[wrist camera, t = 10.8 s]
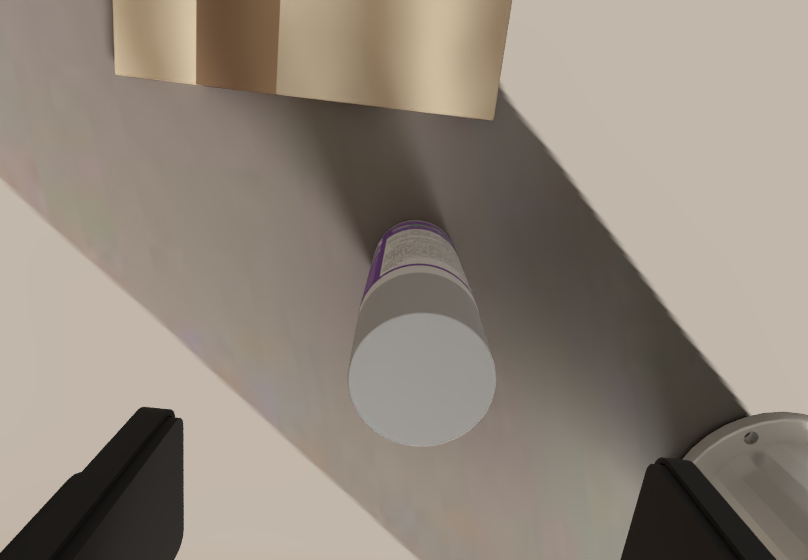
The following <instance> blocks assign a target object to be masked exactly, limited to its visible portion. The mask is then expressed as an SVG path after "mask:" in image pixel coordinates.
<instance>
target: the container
mask: <svg viewBox="0 0 808 560" xmlns="http://www.w3.org/2000/svg"><path fill="white" fill-rule="evenodd" d="M495 387H496V370H495V365H494V361H493V358H492V354H491V351H490V348H489V344H488V341H487V338H486V334H485V331H484V328H483V324H482V321H481V318H480V315H479V311H478V308H477V304H476V302H475V299H474V296H473V294H472V291H471V289H470V286H469V284H468V281H467V278H466V276H465V273H464V271H463V268H462V266H461V263H460V261H459V258H458V255H457V253H456V250H455V248H454V245H453V243H452V241H451V240H450V238H449V237H448V235H447V234H446V233H445V232H444V231H443V230H442V229H441V228H439V227H438V226H436V225H434V224H432V223H430V222H426V221H422V220H409V221H404V222H401V223H398V224H396V225H394V226H393V227H391V228H390V229H389V230H387V231H386V232H385V233H384V235H383V236H382V237H381V239H380V240H379V242H378V244H377V247H376V250H375V253H374V257H373V260H372V264H371V268H370V272H369V275H368V279H367V283H366V287H365V290H364V294H363V298H362V302H361V305H360V309H359V314H358V321H357V326H356V332H355V337H354V342H353V348H352V353H351V359H350V364H349V370H348V389H349V394H350V398H351V400H352V403H353V405H354V407H355V409H356V411H357V413H358V414H359V416H360V417H361V418H362V420H363V421H364V422H365V423H366V424H367V425H368V426H369V427H370V428H371V429H373V430H374V431H375V432H377V433H378V434H379V435H381V436H383V437H385V438H387V439H389V440H391V441H394V442H396V443H400V444H404V445H409V446H434V445H439V444H443V443H446V442H449V441H452V440H454V439H456V438H458V437H460V436H462V435H464V434H465V433H467V432H468V431H469V430H471V429H472V428H473V427H474V426H475V425H476V424H477V423H478V422H479V421H480V420H481V419H482V418H483V416H484V415H485V413H486V412H487V410H488V408H489V406H490V404H491V402H492V399H493V396H494V392H495Z"/></svg>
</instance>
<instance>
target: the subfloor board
mask: <svg viewBox="0 0 808 560" xmlns="http://www.w3.org/2000/svg"><path fill="white" fill-rule="evenodd" d="M511 4H512V0H113V25H114V56H115V75H121V76H127V77H135V78H143V79H151V80H159V81H168V82H176V83H184V84H192V85H201V86H209V87H217V88H225V89H234V90H242V91H250V92H258V93H267V94H275V95H283V96H291V97H300V98H308V99H316V100H324V101H333V102H341V103H349V104H357V105H366V106H374V107H382V108H390V109H399V110H407V111H415V112H423V113H432V114H440V115H448V116H456V117H465V118H473V119H481V120H489V121H491V120H494V113H495V107H496V100H497V94H498V87H499V81H500V75H501V68H502V62H503V55H504V49H505V42H506V36H507V30H508V23H509V17H510V10H511Z"/></svg>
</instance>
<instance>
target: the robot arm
mask: <svg viewBox="0 0 808 560" xmlns="http://www.w3.org/2000/svg"><path fill="white" fill-rule="evenodd" d="M183 504H184V503H183V421H182V419H181V418H175V415H174V412H173V411H172V410H169V409H160V408H149V407H141V408H140V409H138V410H137V411H136V413H135V414H134V415H133V416H132V417H131V418H130V419H129V420H128V422H127V423H126V424H125V425H124V426H123V427H122V428H121V429H120V430H119V431H118V433H117V434H116V435H115V436H114V437H113V438H112V439H111V440H110V442H108V444H107V445H106V446H105V447H104V448H103V449H102V450H101V451H100V452H99V453H98V455H97V456H96V457H95V458H94V459H93V460H92V461H91V462H90V463H89V464H88V466H87V467H86V468H85V469H84V470H83V471H82V472H80V473H77V474H74V475H73V476H72V477H71V478H70V479H68V480H67V482H66V483H65V484H64V485H63V486H62V487H61V488H60V489H59V490H58V491H57V492H56V493H55V494H54V495H53V496H52V498H51V499H50V500H49V501H48V502H47V503H46V504H45V505H44V506H43V507H42V509H40V511H39V512H38V513H37V514H36V515H35V516H34V517H33V518H32V519H31V520H30V522H28V524H27V525H26V526H25V527H24V528H23V529H22V530H21V531H20V532H19V533H18V535H16V537H15V538H14V539H13V540H12V541H11V542H10V543H9V544H8V545H7V546H6V547H5V548H4V550H3V551H2V552H1V553H0V560H174V559H175V557H176V555H177V553H178V551H179V548H180V545H181V542H182V538H183V530H184V526H183V525H184V522H183V521H184V519H183V518H184V517H183V515H184V510H183V507H184V505H183ZM621 560H808V415H804V414H798V413H789V412H774V413H762V414H758V415H753V416H749V417H745V418H742V419H739V420H737V421H734V422H732V423H729V424H727V425H724V426H723V427H721V428H719V429H718V430H716V431H714V432H712V433H711V434H709V435H707V436H706V437H705V438H704V439H702V440H701V441H700V442H699V443H698V444H696V445H695V446H694V447H693V448H692V449H691V450H690V451H689V452H688V453H687V454H686V456H685V457H684V458H683V459H672V458H659V459H658V460H657V461H656V462H655V464H650V465H649V466H648V467H647V470H646V473H645V476H644V480H643V483H642V487H641V490H640V494H639V497H638V501H637V504H636V508H635V511H634V515H633V518H632V522H631V525H630V529H629V532H628V536H627V539H626V543H625V546H624V550H623V553H622V557H621Z"/></svg>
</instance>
